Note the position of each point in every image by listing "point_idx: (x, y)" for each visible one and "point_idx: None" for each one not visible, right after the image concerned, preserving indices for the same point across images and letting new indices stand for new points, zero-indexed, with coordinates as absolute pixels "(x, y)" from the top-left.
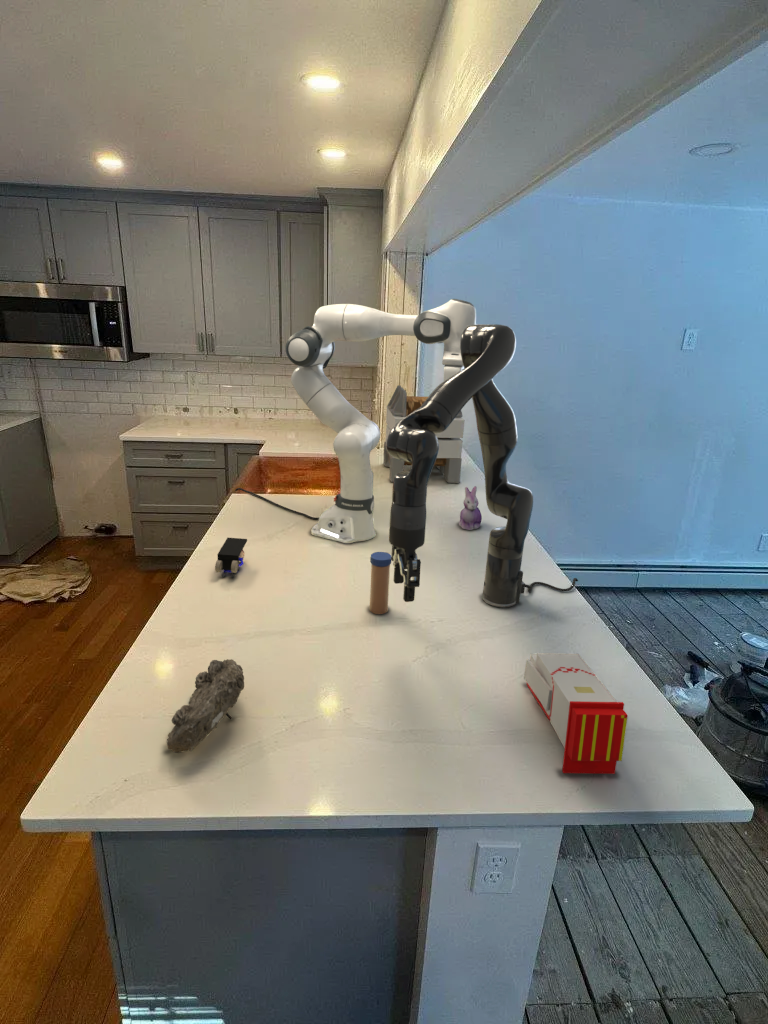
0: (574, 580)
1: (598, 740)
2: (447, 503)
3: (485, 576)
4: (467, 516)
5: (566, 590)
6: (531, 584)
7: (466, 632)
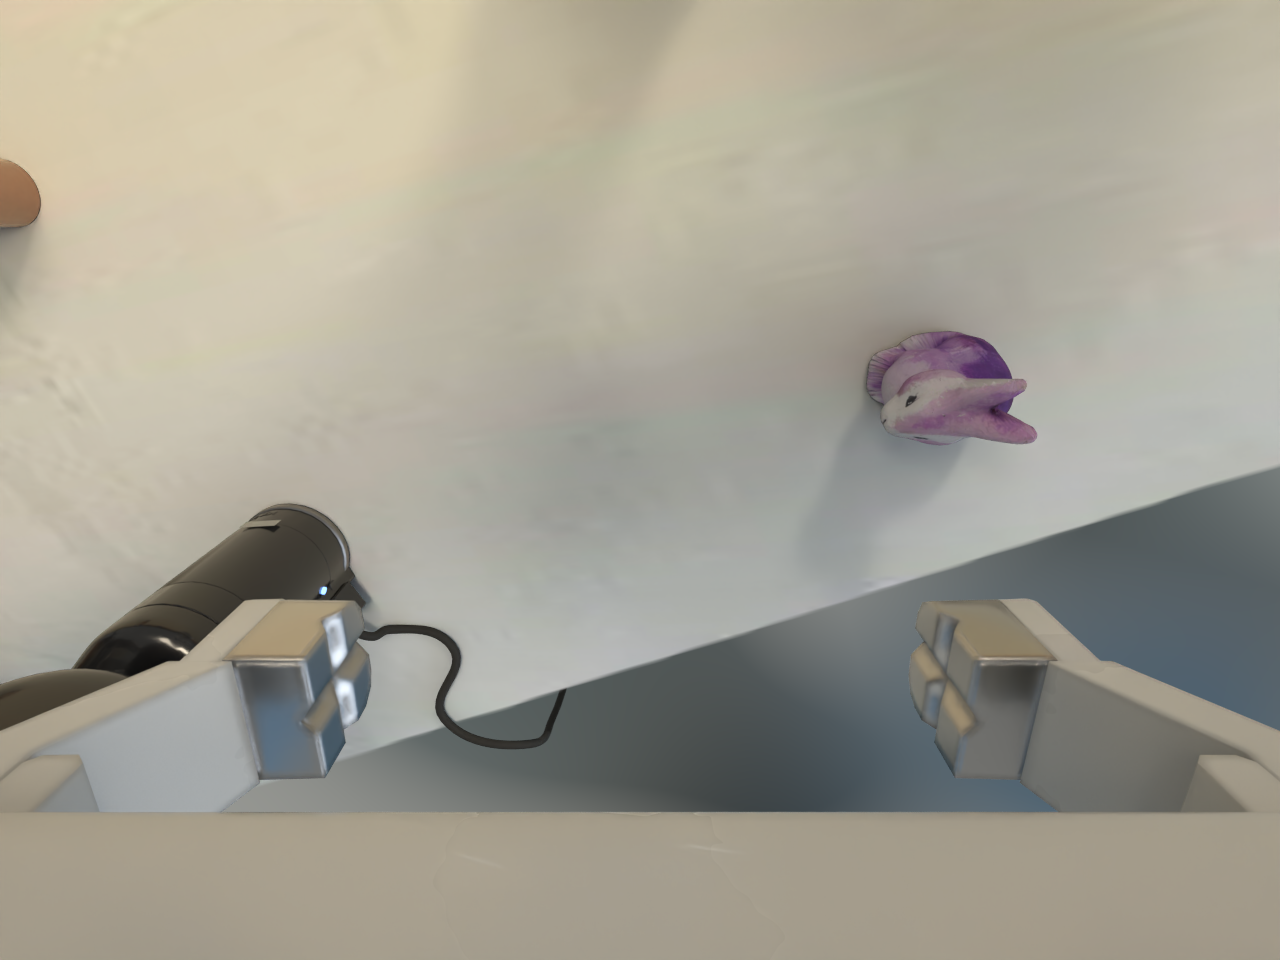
0: (492, 746)
1: None
2: (1239, 220)
3: (227, 541)
4: (885, 386)
5: (441, 720)
6: (432, 634)
7: (56, 486)
